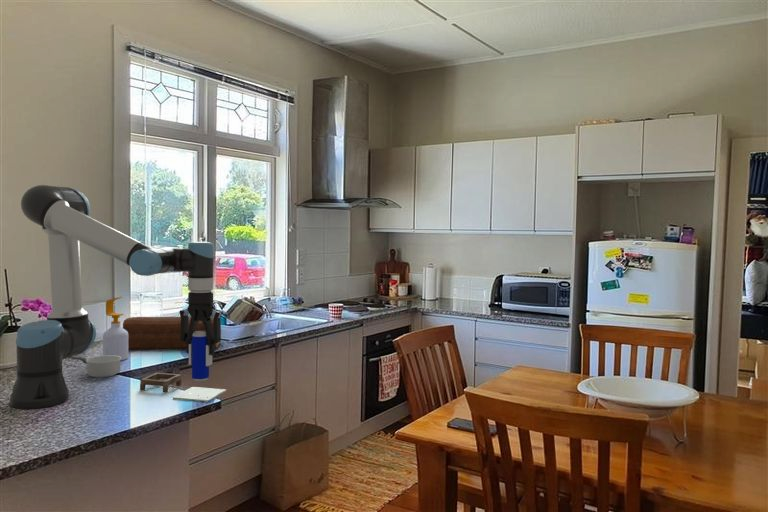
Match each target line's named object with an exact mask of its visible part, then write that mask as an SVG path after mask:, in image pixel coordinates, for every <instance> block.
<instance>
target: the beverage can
mask: <svg viewBox="0 0 768 512" xmlns="http://www.w3.org/2000/svg"><path fill="white" fill-rule="evenodd" d="M207 344H208V340H207V336H206V332H205V331H195V332H193V334H192V365H191V379H192V380H193V381H195V382H205V381H207V380H208V379H209V378H210V365H209V366H206V345H207Z"/></svg>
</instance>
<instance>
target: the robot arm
mask: <svg viewBox="0 0 768 512" xmlns="http://www.w3.org/2000/svg"><path fill="white" fill-rule="evenodd" d="M21 197H22V198H21V200H20V205H21V210H22V213H23V215H24V216H25V217H26V218H27V219H28V220H29V221H30V222H32V223H34V224H37V225H38V226H40V227H41V228H42V229H41V230H42V231H43V232H44V233H45V234H47V237H48V239H47V240H48V257H49V260H48V261H49V275H50V277H49V278H50V280H49V281H50V293H51V294H50V295H51V296H50V297H51V311H50V312H49V313H48V314H47V316H46V319H45V320H44V319H43V320H38V321H32V322H27V323H25V324H23V325H21V326H20V327H19V328H18V329H17V332H16V338H15V344H16V379H15V382H14V385H13V388H12V392H11V393H10V396H9V406H10V407H11V408H15V409H22V410H23V409H26V410H27V409H39V408H40V409H41V408H48V407H53V406H56V405H59V404H63V403H65V402H66V401H68V400H70V399H69V398H70V390H69V389H68V386H67V383H66V380H65V377H64V374H63V360H65V359H69V358H68V357H71V356H75V357H76V356H78V355H80V354H82V353H84V352H86V351H87V350H88V349H90V348H91V347H92V346H93V344H94V343H95V340H96V336H97V330H96V329H97V328H96V325H95V324H94V323H93V322H92V320H90V319H89V313H88V311H87V310H85V309H84V308H83V295H82V294H83V293H82V289H83V288H82V273H81V272H82V270H81V268H82V267H81V251H80V250H81V249H80V242H81V243H83V244H84V245H87V246H88V247H91V248H93V249H95V250H97V251H99V252H101V253H103V254H105V255H106V256H109V257H111V258H113V259H115V260H117V261H119V262H121V263H123V264H124V265H127V266H129V267H130V269H131V270H132V272H133V273H134V274H136V275H138V276H145V277H148V276H154V275H158V274H163V273H164V274H165V273H171V272H175V273H178V272H182V273H187V275H188V276H187V280H188V282H187V283H188V284H187V290H188V291H189V292H187V297H188V298H187V303H188V306H187V308H186V309H181V310H179V311H178V312H179V317H181V336H180V340H181V341H183V342H185V343H186V349H185V351H186V354H188V366H190V365H191V366H192V334H193V332H195V331H196V328H197V324H198V322H199V320H200V321H202V323H203V324H204V328H205V332H206V336H207V340H208V344H207V345H206V366H209V367H210V366H212V365H213V355H215V353H216V349H215V344H216V343H218V342H220V341H222V322H221V318H222V316H223V311H220V310H219V311H218V310H216V309H215V308H214V292H213V290H214V262H215V260H214V259H215V255H214V244H213V243H211V242H209V241H189V243H188V245H187V247H184V248H183V247H168V246H167V247H165V246H162V247H161V246H160V247H150V246H149V245H146V243H145V244H144V243H143V242H141V241H139V240H137V239H135V238H132V237H131V236H129V235H127V234H124V233H122V232H121V231H118V230H117V229H115V228H113V227H111V226H108V225H107V224H104V223H103V222H101V221H99V220H96V219H94V218H92V217H91V216H90V213H91V205H90V201H89V199H88V198H87V196H86V195H85V194H84V193H83V192H82V191H80V190H78V189H75V188H71V187H69V186H68V187H67V186H66V187H65V186H53V185H45V184H40V185H35V186H33V187H30V188H29V189H27V190H26V191H25V192H24V193H23V195H22V196H21ZM189 315H190V317H191V320H190V327H189V331H188V317H189ZM211 317H214V320H213V329H214V333H213V329H212V325H211ZM206 320H207V321H206ZM220 343H221V342H220Z"/></svg>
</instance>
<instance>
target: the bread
mask: <svg viewBox="0 0 768 512" xmlns="http://www.w3.org/2000/svg"><path fill="white" fill-rule="evenodd" d="M210 317H211V325H212V329H213V320H214V317H213V316H210ZM190 320H191V316H188V331H189V327H190ZM206 321H207V320H206ZM122 328H123V329H125V330H126V331H127V332H128V351H129V350H130V351H136V350H137V351H138V350H140V351H141V350H143V351H144V350H145V351H146V350H147V351H151V350H152V351H153V350H156V351H157V350H186V343H185V342H183V341H181V340H180V336H181V317H180V316H131V317H128V318H127V317H126V318H125V319H124V320H123V323H122ZM196 331H205V328H204V324H203V323H202V321H200V320H199V322H198V324H197V328H196ZM213 333H214V329H213ZM221 341H222V340H221ZM221 341H220V342H218V343H216V344H215V350H217V349H218V346H219V345H220V344H221Z"/></svg>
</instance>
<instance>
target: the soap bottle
mask: <svg viewBox="0 0 768 512" xmlns="http://www.w3.org/2000/svg"><path fill="white" fill-rule="evenodd" d="M122 298H123V297H122V296H120V297H119V296H118V297H114V298H111V299H107V300H106V302H105V314H106V316H107V317H108V316H109V317H111V318H112V319H113V320H111V321H110V327H109V328H108V329H106V330H105V331H104V332H103V334H102V356H106V355H113V356H120V357H121V359H120V362H121V361H122V362H123V361H125V360H128V358H129V350H128V332H127V331H126V330H125V329H123V327H121V321H120V320H119V318H120V317H122V316H123V315H124V313H116V312H115V311H114V307H115V306H114V305H115V304H114V303H115V301H116V300H119V299H122Z"/></svg>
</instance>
